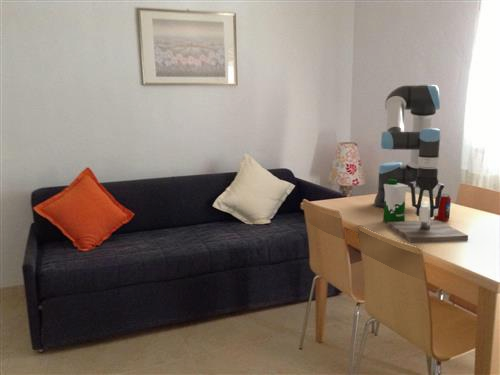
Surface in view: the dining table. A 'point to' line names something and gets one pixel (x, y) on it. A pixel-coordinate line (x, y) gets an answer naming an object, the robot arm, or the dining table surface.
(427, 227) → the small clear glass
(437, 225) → the base plate
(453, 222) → the dining table surface
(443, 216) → the beverage can
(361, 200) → the dining table surface
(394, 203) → the milk carton
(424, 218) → the spoon
